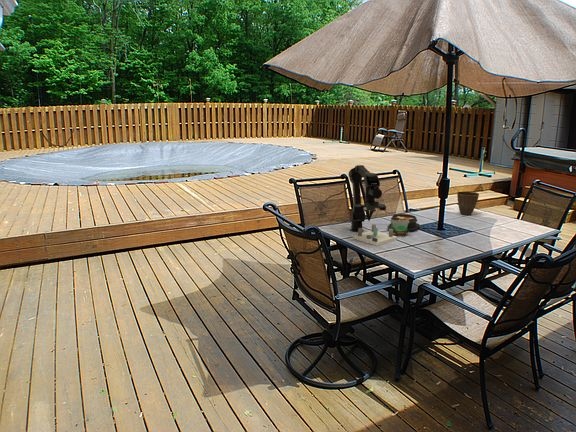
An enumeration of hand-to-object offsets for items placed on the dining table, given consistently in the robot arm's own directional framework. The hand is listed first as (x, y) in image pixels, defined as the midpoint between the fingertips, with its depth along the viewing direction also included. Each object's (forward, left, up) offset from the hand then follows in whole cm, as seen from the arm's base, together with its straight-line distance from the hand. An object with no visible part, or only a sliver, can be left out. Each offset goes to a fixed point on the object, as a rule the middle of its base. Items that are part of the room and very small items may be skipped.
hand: (368, 220), depth 258 cm
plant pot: (+7, +104, -12) cm, 105 cm away
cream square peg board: (+3, +3, -12) cm, 12 cm away
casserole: (0, +36, -12) cm, 38 cm away
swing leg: (+3, -1, -9) cm, 10 cm away
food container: (+8, +22, -12) cm, 26 cm away
